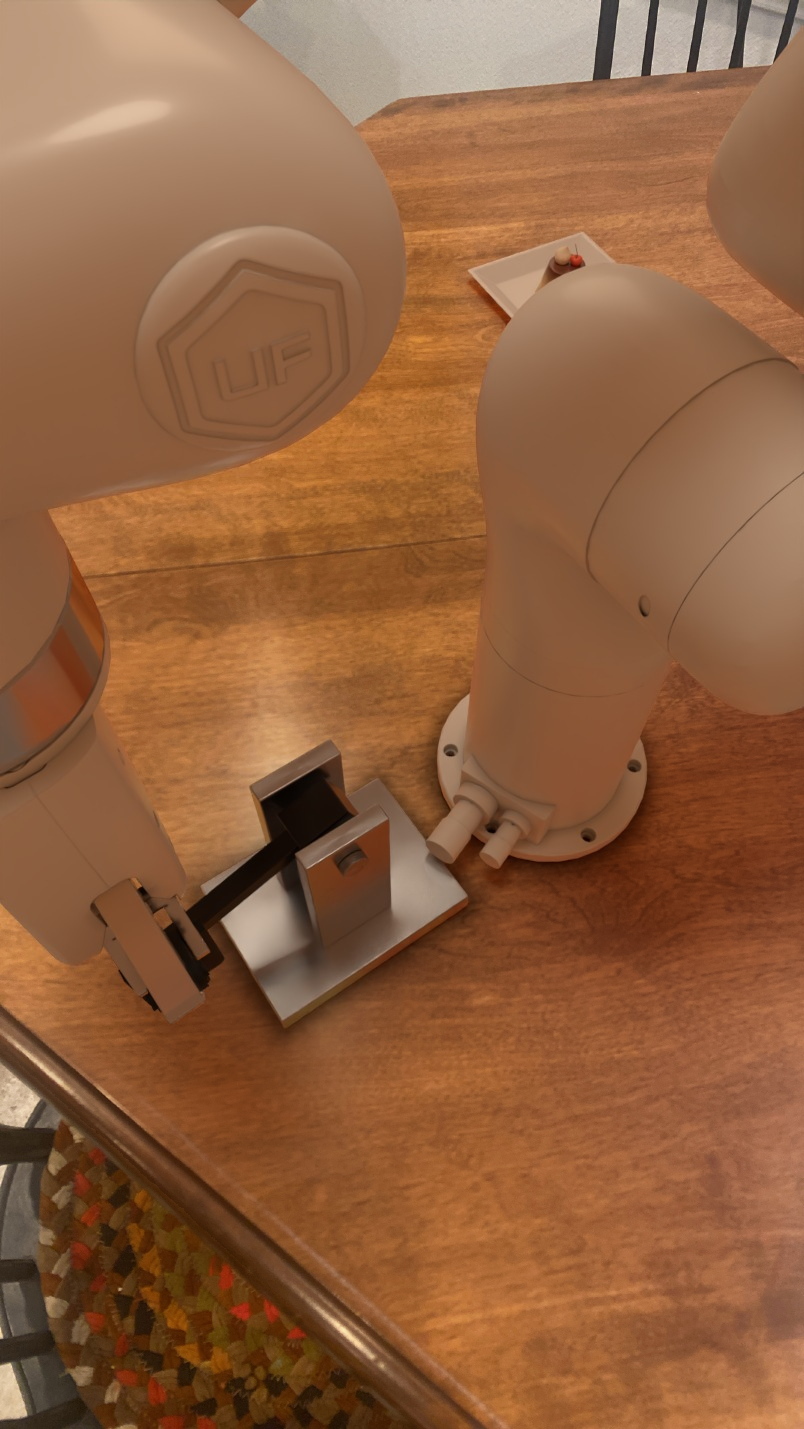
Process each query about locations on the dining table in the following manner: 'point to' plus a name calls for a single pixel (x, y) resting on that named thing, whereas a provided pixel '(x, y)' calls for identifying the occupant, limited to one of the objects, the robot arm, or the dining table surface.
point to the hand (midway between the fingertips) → (129, 880)
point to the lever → (277, 849)
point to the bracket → (335, 892)
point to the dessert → (536, 269)
